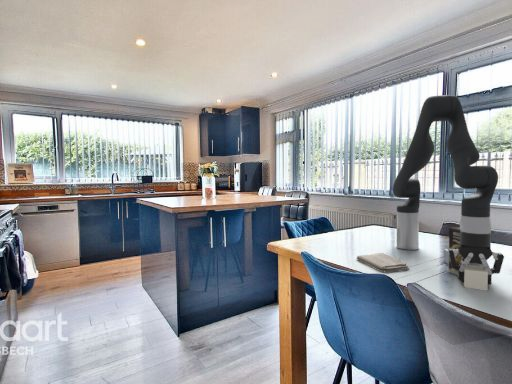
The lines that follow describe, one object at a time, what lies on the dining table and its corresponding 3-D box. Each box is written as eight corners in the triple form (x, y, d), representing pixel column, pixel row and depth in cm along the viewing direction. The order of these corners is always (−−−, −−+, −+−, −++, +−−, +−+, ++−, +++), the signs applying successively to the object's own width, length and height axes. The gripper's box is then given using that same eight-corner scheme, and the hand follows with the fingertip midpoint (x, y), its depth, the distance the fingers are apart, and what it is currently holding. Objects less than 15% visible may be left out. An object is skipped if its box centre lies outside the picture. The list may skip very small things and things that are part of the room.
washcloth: (383, 274, 102) (383, 266, 102) (355, 260, 120) (355, 253, 120) (411, 271, 105) (411, 263, 105) (380, 258, 122) (379, 251, 122)
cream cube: (464, 287, 88) (465, 269, 87) (461, 281, 93) (462, 264, 92) (487, 290, 85) (487, 272, 85) (483, 284, 90) (483, 266, 90)
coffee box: (447, 271, 102) (448, 227, 101) (464, 270, 102) (464, 226, 102) (468, 280, 93) (469, 232, 92) (487, 279, 93) (487, 231, 93)
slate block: (449, 265, 109) (449, 252, 109) (443, 261, 114) (443, 249, 114) (464, 265, 108) (464, 252, 108) (458, 261, 113) (458, 249, 113)
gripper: (448, 231, 88) (448, 284, 89) (509, 234, 81) (507, 292, 82) (445, 227, 95) (445, 276, 96) (501, 229, 88) (500, 283, 89)
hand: (474, 283), depth 89 cm, fingers closed on cream cube, 5 cm apart
